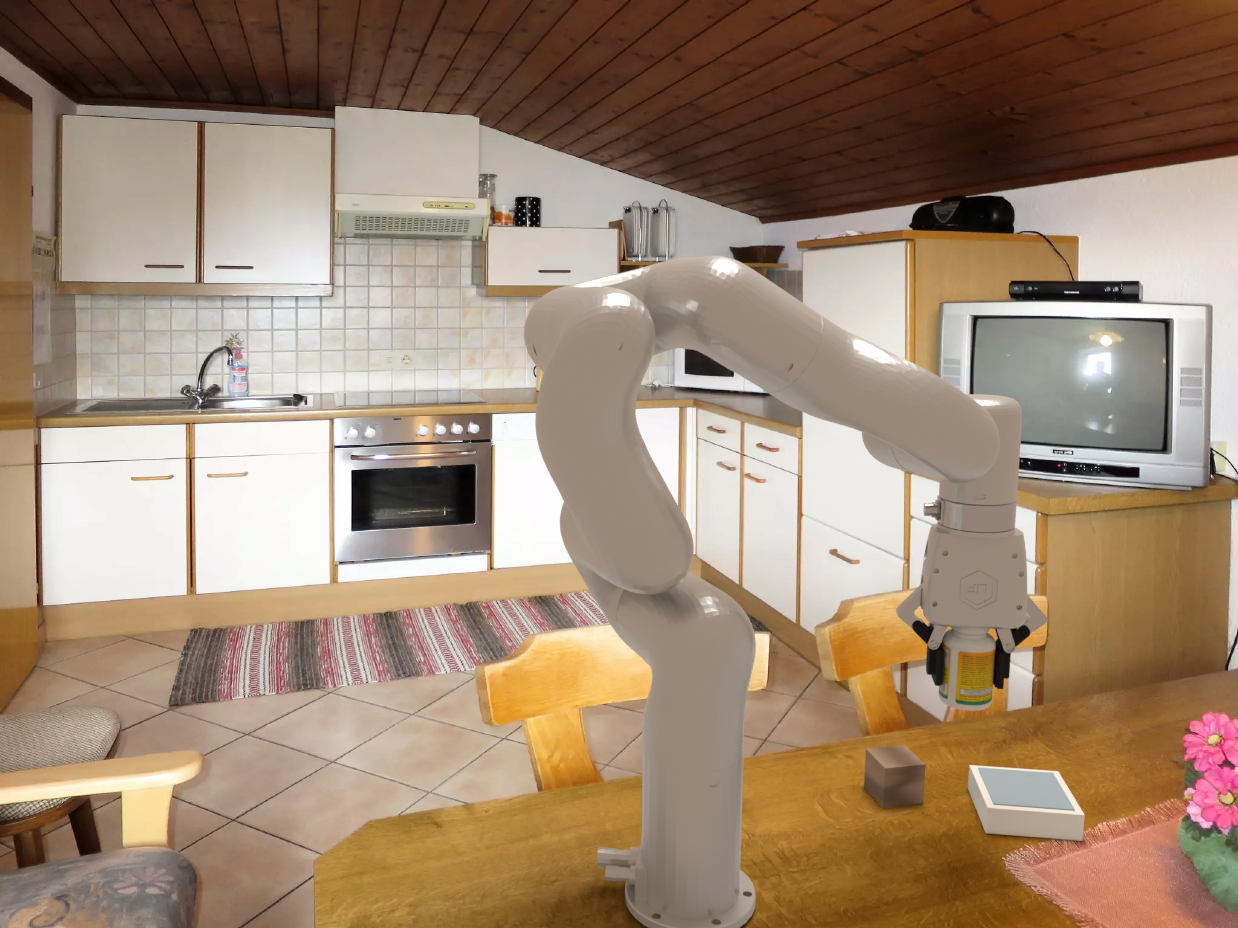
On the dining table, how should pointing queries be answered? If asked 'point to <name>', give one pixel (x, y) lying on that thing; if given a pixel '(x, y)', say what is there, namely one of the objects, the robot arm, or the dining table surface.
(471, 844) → the dining table surface
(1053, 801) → the base
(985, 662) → the supplement bottle
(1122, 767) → the dining table surface
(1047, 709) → the dining table surface
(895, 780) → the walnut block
